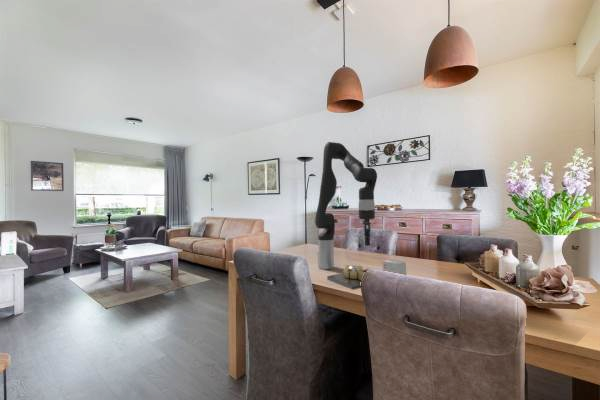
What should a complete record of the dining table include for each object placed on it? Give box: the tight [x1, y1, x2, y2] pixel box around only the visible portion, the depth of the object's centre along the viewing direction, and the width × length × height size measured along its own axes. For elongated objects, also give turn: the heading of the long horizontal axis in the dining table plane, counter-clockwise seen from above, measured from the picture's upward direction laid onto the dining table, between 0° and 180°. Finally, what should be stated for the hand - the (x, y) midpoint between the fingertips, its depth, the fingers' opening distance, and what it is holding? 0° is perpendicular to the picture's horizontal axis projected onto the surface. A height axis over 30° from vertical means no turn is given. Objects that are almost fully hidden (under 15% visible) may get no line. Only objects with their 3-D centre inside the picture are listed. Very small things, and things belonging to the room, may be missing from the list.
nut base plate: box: [326, 265, 361, 290], centre depth 132 cm, size 18×17×6 cm
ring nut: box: [342, 265, 369, 280], centre depth 131 cm, size 18×10×4 cm, turn 32°
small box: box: [382, 259, 407, 276], centre depth 116 cm, size 8×6×13 cm
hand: (367, 244), depth 126 cm, fingers open, 4 cm apart
